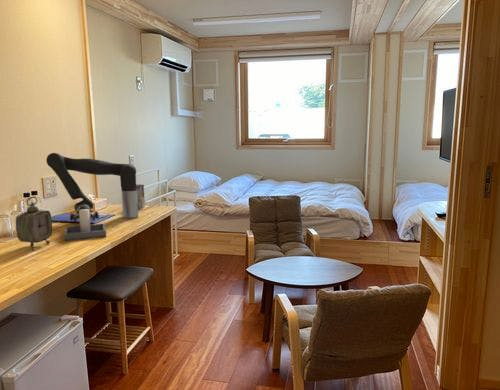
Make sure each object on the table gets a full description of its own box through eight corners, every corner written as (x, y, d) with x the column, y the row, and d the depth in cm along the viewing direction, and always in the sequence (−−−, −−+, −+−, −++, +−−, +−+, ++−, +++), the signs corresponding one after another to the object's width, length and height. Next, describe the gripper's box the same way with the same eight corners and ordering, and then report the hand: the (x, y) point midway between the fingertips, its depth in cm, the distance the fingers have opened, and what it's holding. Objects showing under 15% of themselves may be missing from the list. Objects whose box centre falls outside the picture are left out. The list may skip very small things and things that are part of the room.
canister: (90, 231, 223) (89, 208, 221) (90, 234, 219) (89, 210, 216) (80, 232, 221) (78, 209, 219) (80, 235, 217) (78, 211, 214)
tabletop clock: (33, 252, 192) (28, 200, 188) (16, 250, 194) (11, 199, 189) (53, 243, 206) (49, 194, 201) (37, 241, 208) (33, 193, 203)
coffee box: (136, 206, 287) (135, 184, 284) (145, 207, 287) (144, 184, 284) (132, 209, 278) (130, 186, 275) (141, 210, 278) (140, 186, 275)
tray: (104, 229, 231) (104, 223, 230) (106, 236, 217) (105, 230, 217) (65, 233, 223) (65, 226, 223) (65, 241, 210) (64, 234, 209)
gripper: (69, 206, 228) (69, 213, 213) (97, 204, 233) (98, 211, 219) (70, 219, 229) (70, 227, 215) (97, 217, 235) (99, 224, 220)
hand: (84, 219), depth 217 cm, fingers open, 8 cm apart
